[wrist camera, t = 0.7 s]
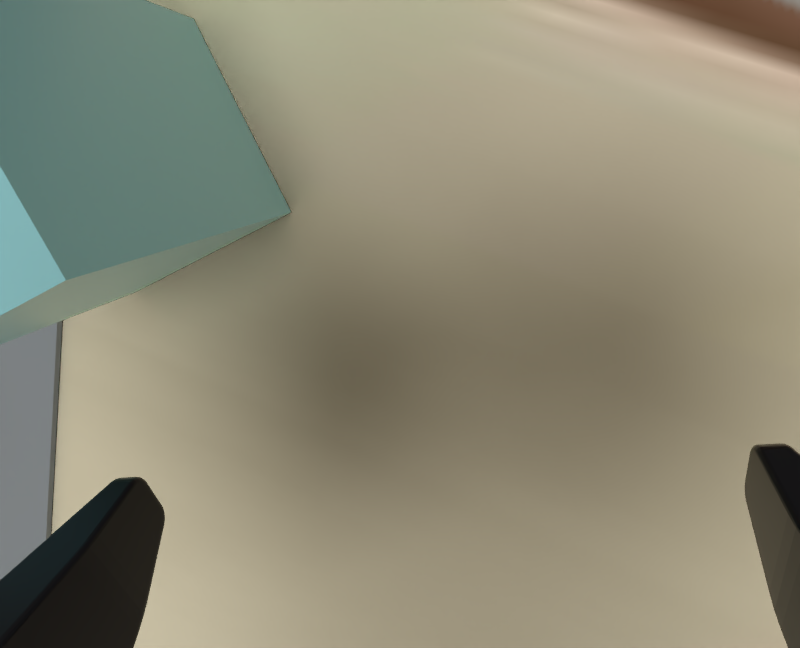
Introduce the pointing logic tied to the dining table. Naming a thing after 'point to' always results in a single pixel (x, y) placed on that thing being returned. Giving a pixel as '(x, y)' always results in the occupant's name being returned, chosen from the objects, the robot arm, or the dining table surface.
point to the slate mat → (27, 441)
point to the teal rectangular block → (114, 156)
